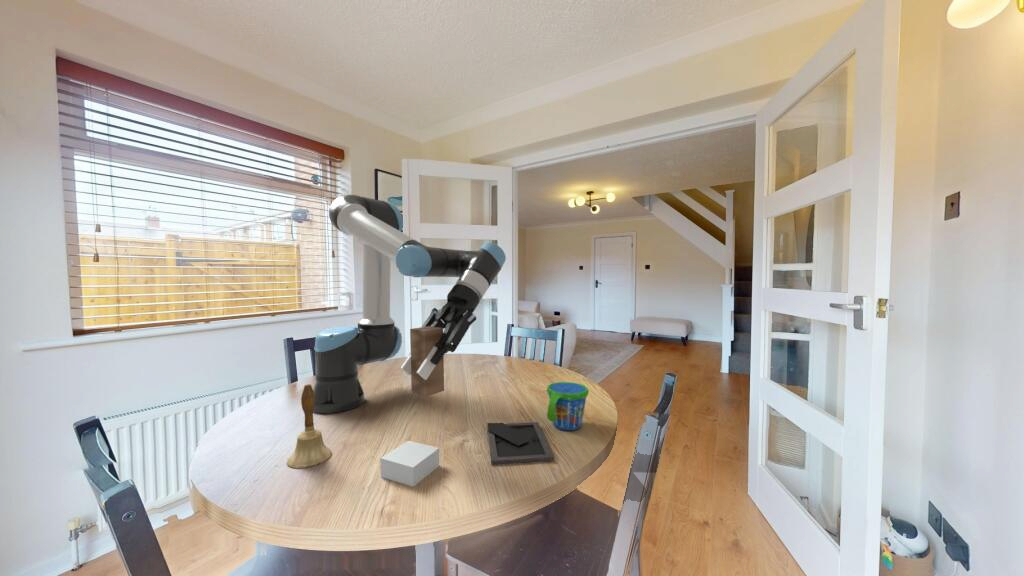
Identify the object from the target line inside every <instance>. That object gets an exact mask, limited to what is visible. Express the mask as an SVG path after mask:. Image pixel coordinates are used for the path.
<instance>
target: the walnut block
mask: <svg viewBox="0 0 1024 576" xmlns="http://www.w3.org/2000/svg"><path fill="white" fill-rule="evenodd" d="M443 332H444V329H443V328H439V327H431V326H427V327H422V326H420V327H415V328H410V329H409V334H410V335H409V336H410V352H411V375H410V379H411V381H410V382H411V383H410V384H411V385H410V387H411V394H412V393H413V394H416V395H419V396H421V397H425V398H427V397H429V396H433V395H435V394H438V393H441V392H444V391H445V368H444V367H445V365H444V363H445V361H444V355H445V354H444V355H443V357H442V359H441V360H440V362H439V363H438V364H437V365H436V366H435V367H434V369H433V371H432V372H431V374H430V375H429V377H428V378H427V380H425V379H423V378H422V377H421V376H420V375H419V374H418V373H417V371H418V369H419V368H420V366H421V365H422V363H423V362H424V360H425V359H426V357H427V356H428V354H429V353H430V351H431V350H432V348H433V347H437V346H436V343H439V341H440V339H441V337H442V334H443ZM437 348H438V347H437Z"/></svg>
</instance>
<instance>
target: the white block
mask: <svg viewBox="0 0 1024 576" xmlns="http://www.w3.org/2000/svg"><path fill="white" fill-rule="evenodd" d="M439 467H440V448H439V447H436V446H432V445H428V444H424V443H420V442H416V441H412V440H407V441H405V442H404V443H402V444H401V445H399V446H397V447H396V448H395V449H393V450H391V451H390V452H388V453H386V454H385V455H383V456H382V457H380V478H382V479H386V480H390V481H393V482H395V483H399V484H402V485H405V486H407V487H408V486H409V487H411V488H413V487H415V486H416V485H417V484H419V483H420V482H421V481H423V480H424V479H425V478H426V477H427V476H429V475H430V474H431V473H432V472H433V471H435V470H436V469H437V468H439Z"/></svg>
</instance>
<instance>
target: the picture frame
mask: <svg viewBox="0 0 1024 576" xmlns="http://www.w3.org/2000/svg"><path fill="white" fill-rule="evenodd" d="M486 427H487V437H488V447H489V454H490V455H489V456H490V465H491V466H502V465H519V464H535V463H537V464H538V463H551V462H550V461H554V462H555V456H554V454H553V451H552V449H551V448H550V445H549V443H548V441H547V439H546V436H545V434H544V432H543V430H542V427H541V426H540V424H539V422H538V421H532V422H515V423H514V422H513V423H512V422H511V423H509V422H508V423H504V422H487V426H486Z"/></svg>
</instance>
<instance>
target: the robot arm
mask: <svg viewBox="0 0 1024 576" xmlns="http://www.w3.org/2000/svg"><path fill="white" fill-rule="evenodd" d="M328 218H329V220H330V222H331V224H332V225H333V226H334V227H335V229H337V230H338V231H340V232H341V233H343V234H344V235H347V236H351V237H352V236H353V237H356V238H357V241H359V242H360V243H361V244H362V245H363V246H362V318H361V319H359V320H358V321H357V326H355V325H342V326H335V327H331V328H327V329H324V330H322V331H320V332H319V333H318V334H316V336H315V341H314V361H315V362H314V363H315V382H314V386H313V387H312V389H313V391H314V394H315V407H314V410H313V413H317V414H335V413H341V412H345V411H350V410H352V409H355V408H357V407H360V406H362V405H363V404H364V402H365V392H364V389H363V386H362V384H361V381H360V378H359V367H360V366H363V365H368V364H372V363H377V362H384V361H386V360H388V359H392V358H394V357H395V356H396V355H397V354H398V353H399V351H400V350H401V347H402V342H403V341H402V340H403V337H402V333H401V332H400V331H401V330H400V328H399V327H398V326H397V325H395V320H394V319H393V318H392V317H391V261H393V262H394V263H395V265H396V268H397V269H398V271H399V273H400V274H402V275H403V276H406V277H412V278H430V277H431V278H432V277H434V278H435V277H437V278H457V281H456V282H455V284H454V286H452V288H451V289H450V291H449V292H448V293H447V296H446V301H447V302H446V303H445V304H444V305H443V306H442V307H441V308H440V309H438V308H436V307H433V308H431V312H430V314H429V316H428V317H427V318H426V320H425V321H424V322H423V324H422V325H421V327H427V326H431V327H439V328H443V334H442V337H441V339H440V341H439V343H436V346H437V347H438V348H437V347H433V348H432V350H431V351H430V353H429V354H428V356H427V357H426V359H425V360H424V362H423V363H422V365H421V366H420V368H419V369H418V371H417V373H418V374H419V375H420V376H421V377H422V378H423V379H425V380H427V378H428V377H429V375H430V374H431V372H432V371H433V369H434V367H435V366H436V365H437V364H438V363H439V362H440V360H441V359H442V357H443V355H445V354H447V353H449V352H451V353H454V352H455V351H456V349H457V348H458V346H459V345H460V343H461V341H462V339H464V337H465V335H466V334H467V332H468V330H469V328H470V327H471V326H472V324H473V323H474V322H475V321H477V316H476V315H475V314H474V312H475V310H476V309H477V307H478V306H479V304H480V302H481V300H482V299H483V298H484V295H485V294H486V293H487V291H488V289H489V288H490V286H491V284H492V283H493V282H494V280H495V278H496V277H497V276H498V274H499V273H500V271H502V268H503V267H504V264H505V262H506V260H507V259H506V253H505V252H504V250H503V249H502V247H500V246H499V245H498V244H496V243H493V242H486V243H484V244H483V245H482V246H481V247H479V250H465V249H464V250H462V249H461V250H460V249H453V248H451V249H450V248H441V247H440V248H439V247H431V246H427V245H425V244H424V243H421V242H419V241H418V240H416V239H415V238H413V237H411V236H409V235H407V234H406V233H403V232H402V230H403V228H404V220H403V215H402V213H401V210H400V209H399V208H398V207H397V206H396V205H395V204H393V203H390V202H387V201H385V200H380V199H376V198H375V199H374V198H370V197H365V196H360V195H357V194H345V195H341V196H339V197H337V198H336V199H334V200H333V201H332V203H331V204H330V206H329V209H328ZM400 370H402V371H403V372H404V373H405V374H406V375H408V376H411V351H410V352H409V354H408V357H406V359H405V360H404V361H403V363H402V365H401V366H400Z"/></svg>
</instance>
